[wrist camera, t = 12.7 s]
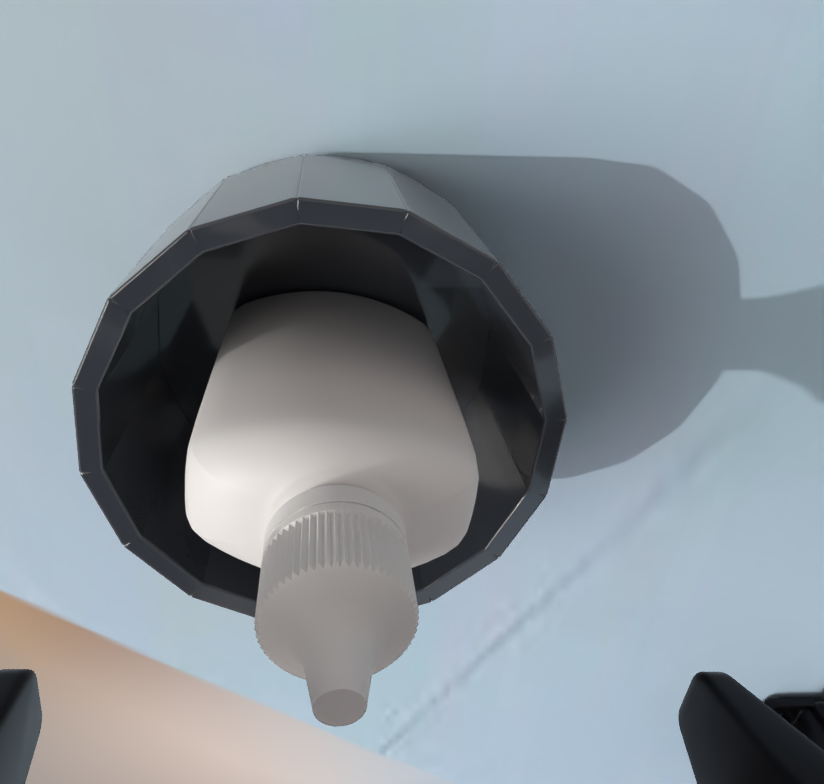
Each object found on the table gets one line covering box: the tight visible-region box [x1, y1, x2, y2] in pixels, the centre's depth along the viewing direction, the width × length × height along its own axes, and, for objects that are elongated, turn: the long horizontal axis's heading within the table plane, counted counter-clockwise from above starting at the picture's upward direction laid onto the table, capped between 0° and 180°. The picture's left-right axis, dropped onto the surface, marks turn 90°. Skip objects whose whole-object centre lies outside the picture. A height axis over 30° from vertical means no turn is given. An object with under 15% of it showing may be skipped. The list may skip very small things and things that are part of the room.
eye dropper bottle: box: [185, 291, 479, 726], centre depth 14 cm, size 4×6×12 cm
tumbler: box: [72, 155, 567, 617], centre depth 17 cm, size 10×10×6 cm
